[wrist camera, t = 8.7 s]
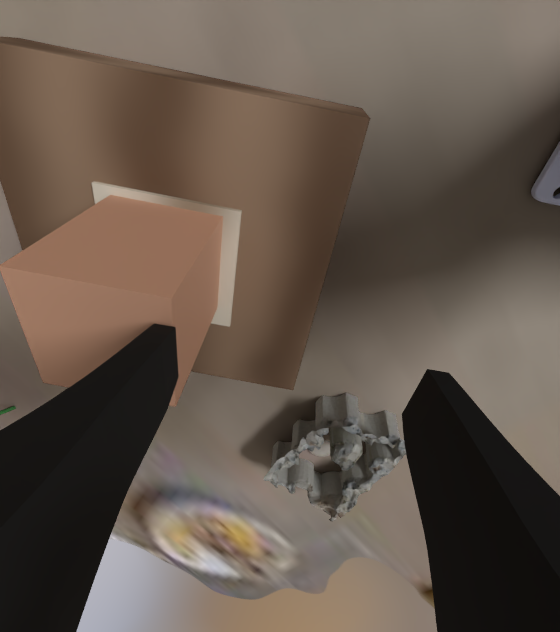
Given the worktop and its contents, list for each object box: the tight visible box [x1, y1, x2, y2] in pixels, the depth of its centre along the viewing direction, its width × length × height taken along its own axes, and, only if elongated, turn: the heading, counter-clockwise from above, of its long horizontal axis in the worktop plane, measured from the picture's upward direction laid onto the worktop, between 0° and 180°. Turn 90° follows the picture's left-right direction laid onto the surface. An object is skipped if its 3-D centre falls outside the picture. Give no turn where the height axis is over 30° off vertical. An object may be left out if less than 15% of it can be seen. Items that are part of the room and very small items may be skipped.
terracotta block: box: [0, 195, 223, 407], centre depth 13 cm, size 5×5×6 cm
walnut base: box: [0, 37, 370, 390], centre depth 17 cm, size 14×14×3 cm
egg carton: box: [264, 393, 406, 521], centre depth 26 cm, size 11×8×4 cm
